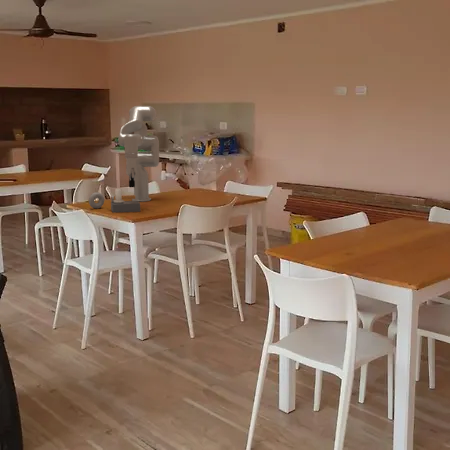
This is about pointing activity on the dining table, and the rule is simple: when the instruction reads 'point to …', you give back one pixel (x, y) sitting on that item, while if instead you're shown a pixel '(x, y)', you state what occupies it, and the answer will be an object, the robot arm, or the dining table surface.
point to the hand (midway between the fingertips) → (131, 187)
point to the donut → (92, 198)
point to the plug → (118, 196)
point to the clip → (124, 197)
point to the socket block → (125, 206)
